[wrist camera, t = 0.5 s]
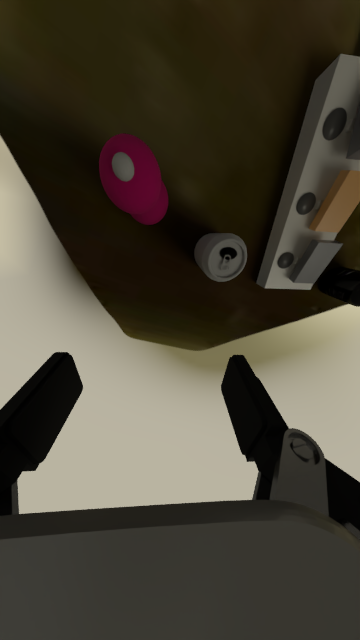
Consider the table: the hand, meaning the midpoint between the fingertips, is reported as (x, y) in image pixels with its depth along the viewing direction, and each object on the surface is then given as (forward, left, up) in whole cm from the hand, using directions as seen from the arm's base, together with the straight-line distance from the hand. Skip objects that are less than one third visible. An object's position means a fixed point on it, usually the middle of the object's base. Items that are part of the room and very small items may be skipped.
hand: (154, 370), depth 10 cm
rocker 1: (-13, +29, -24) cm, 40 cm away
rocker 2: (-4, +29, -24) cm, 38 cm away
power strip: (-13, +28, -30) cm, 43 cm away
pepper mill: (-12, -3, -30) cm, 33 cm away
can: (-4, +10, -30) cm, 32 cm away
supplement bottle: (+1, +42, -30) cm, 52 cm away
